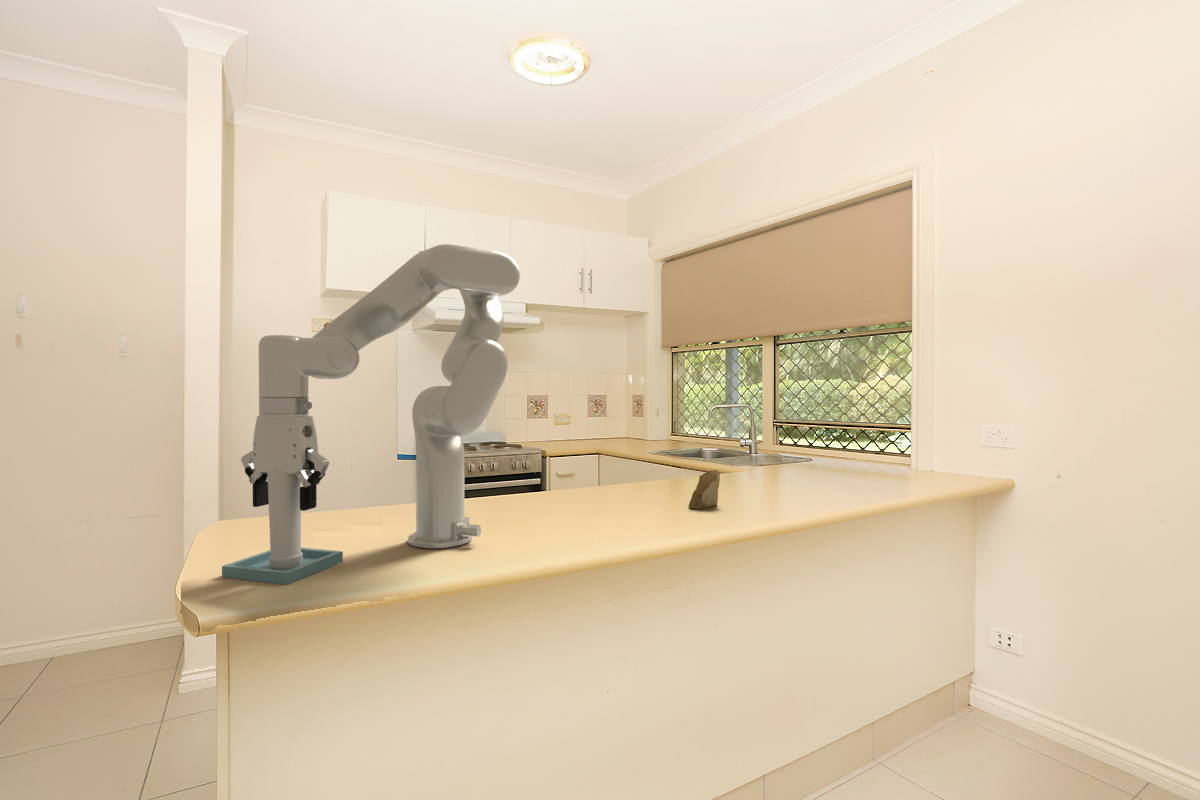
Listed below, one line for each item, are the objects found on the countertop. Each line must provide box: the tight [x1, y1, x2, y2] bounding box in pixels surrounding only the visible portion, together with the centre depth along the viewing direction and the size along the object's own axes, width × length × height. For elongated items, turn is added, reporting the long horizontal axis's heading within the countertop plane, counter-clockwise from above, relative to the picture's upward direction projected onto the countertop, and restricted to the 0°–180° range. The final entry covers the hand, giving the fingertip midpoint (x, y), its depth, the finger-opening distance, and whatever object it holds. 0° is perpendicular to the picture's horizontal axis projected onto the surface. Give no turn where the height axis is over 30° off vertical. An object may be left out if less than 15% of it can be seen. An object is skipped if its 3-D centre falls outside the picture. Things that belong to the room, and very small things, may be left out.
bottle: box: [267, 429, 303, 569], centre depth 102 cm, size 5×5×25 cm
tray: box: [221, 547, 344, 586], centre depth 103 cm, size 13×13×2 cm
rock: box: [687, 469, 721, 510], centre depth 159 cm, size 11×9×10 cm
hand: (284, 507), depth 102 cm, fingers open, 9 cm apart
